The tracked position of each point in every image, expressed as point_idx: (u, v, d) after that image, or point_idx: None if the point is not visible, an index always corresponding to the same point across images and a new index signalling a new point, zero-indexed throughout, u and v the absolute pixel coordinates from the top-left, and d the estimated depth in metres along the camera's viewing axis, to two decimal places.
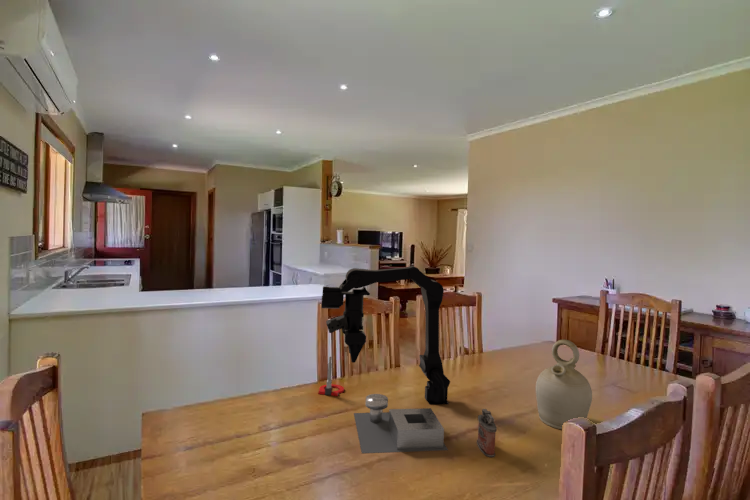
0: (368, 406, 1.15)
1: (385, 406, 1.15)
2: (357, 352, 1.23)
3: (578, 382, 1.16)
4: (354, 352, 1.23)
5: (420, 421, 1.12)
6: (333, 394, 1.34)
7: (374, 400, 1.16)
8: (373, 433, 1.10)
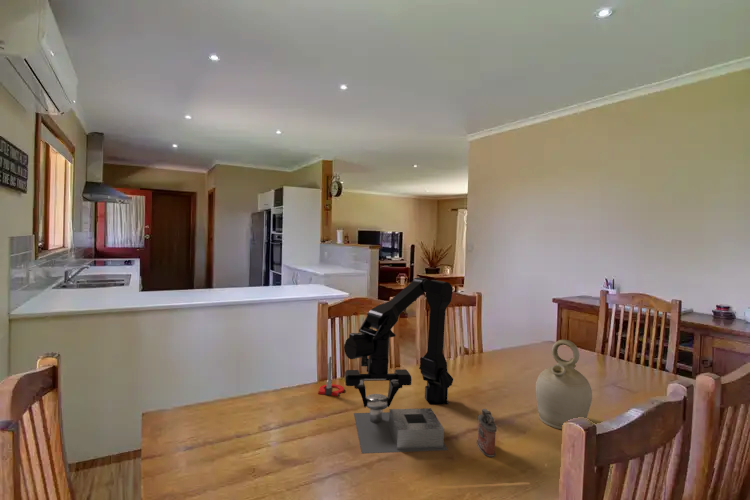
0: (368, 406, 1.15)
1: (385, 406, 1.15)
2: None
3: (578, 382, 1.16)
4: None
5: (420, 421, 1.12)
6: (333, 394, 1.34)
7: (374, 400, 1.16)
8: (373, 433, 1.10)
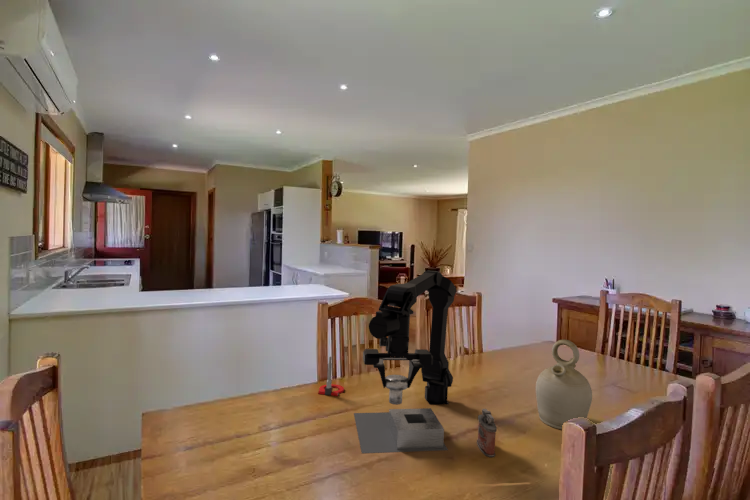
0: (387, 386, 1.10)
1: (405, 387, 1.10)
2: None
3: (578, 382, 1.16)
4: (380, 375, 1.12)
5: (420, 421, 1.12)
6: (333, 394, 1.34)
7: (394, 380, 1.11)
8: (373, 433, 1.10)
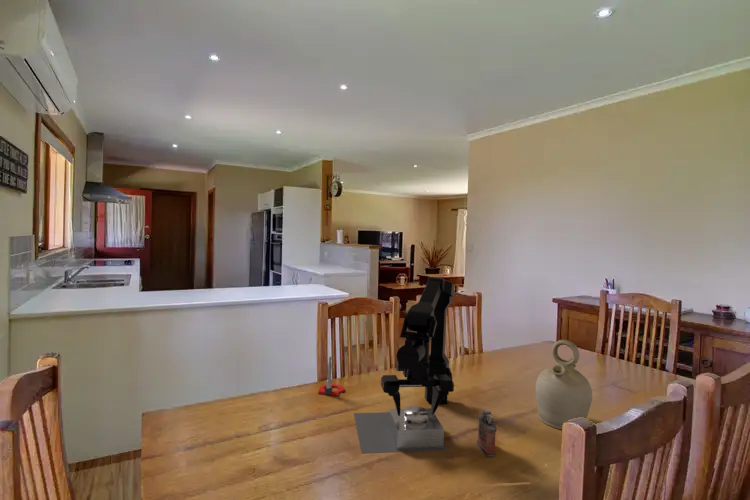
0: (407, 420, 1.06)
1: (425, 420, 1.07)
2: (395, 404, 1.07)
3: (578, 382, 1.16)
4: (395, 403, 1.07)
5: None
6: (333, 394, 1.34)
7: (413, 413, 1.07)
8: (373, 433, 1.10)
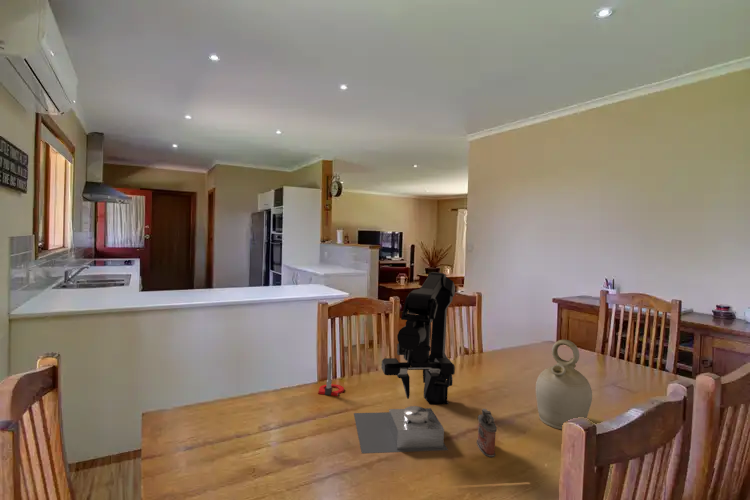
0: (407, 420, 1.06)
1: (425, 420, 1.07)
2: (404, 387, 1.07)
3: (578, 382, 1.16)
4: (404, 385, 1.08)
5: None
6: (333, 394, 1.34)
7: (413, 413, 1.07)
8: (373, 433, 1.10)
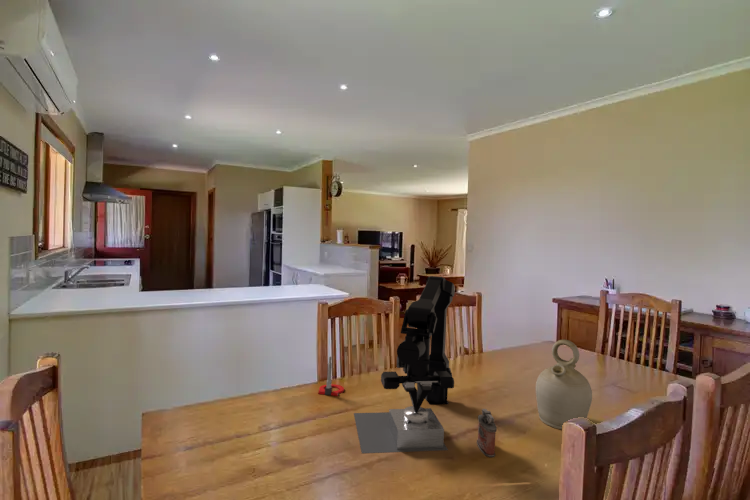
0: (407, 420, 1.06)
1: (425, 420, 1.07)
2: (412, 400, 1.07)
3: (578, 382, 1.16)
4: (411, 399, 1.08)
5: None
6: (333, 394, 1.34)
7: (413, 413, 1.07)
8: (373, 433, 1.10)
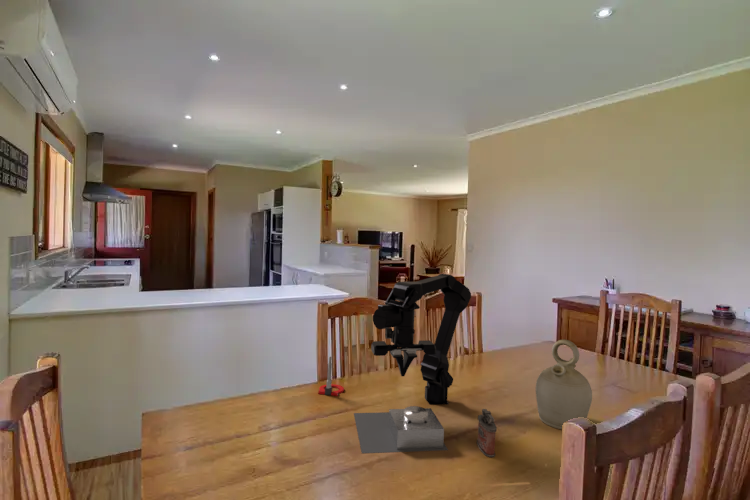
0: (407, 420, 1.06)
1: (425, 420, 1.07)
2: (399, 366, 1.21)
3: (578, 382, 1.16)
4: (398, 365, 1.22)
5: None
6: (333, 394, 1.34)
7: (413, 413, 1.07)
8: (373, 433, 1.10)
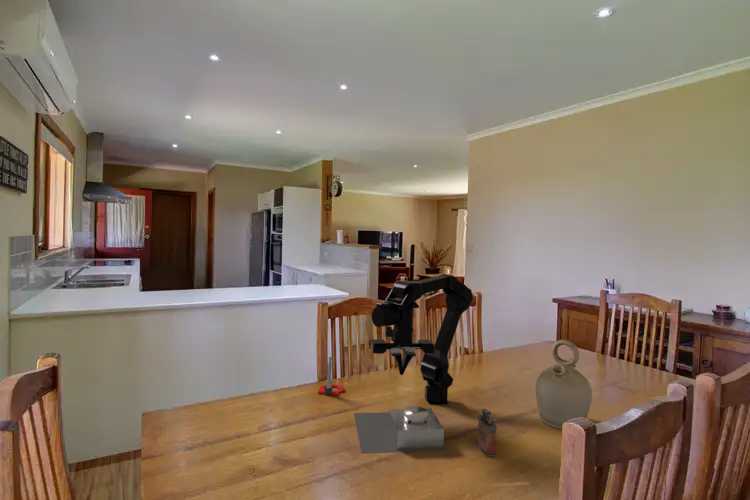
0: (407, 420, 1.06)
1: (425, 420, 1.07)
2: (397, 364, 1.22)
3: (578, 382, 1.16)
4: (397, 363, 1.22)
5: None
6: (333, 394, 1.34)
7: (413, 413, 1.07)
8: (373, 433, 1.10)
